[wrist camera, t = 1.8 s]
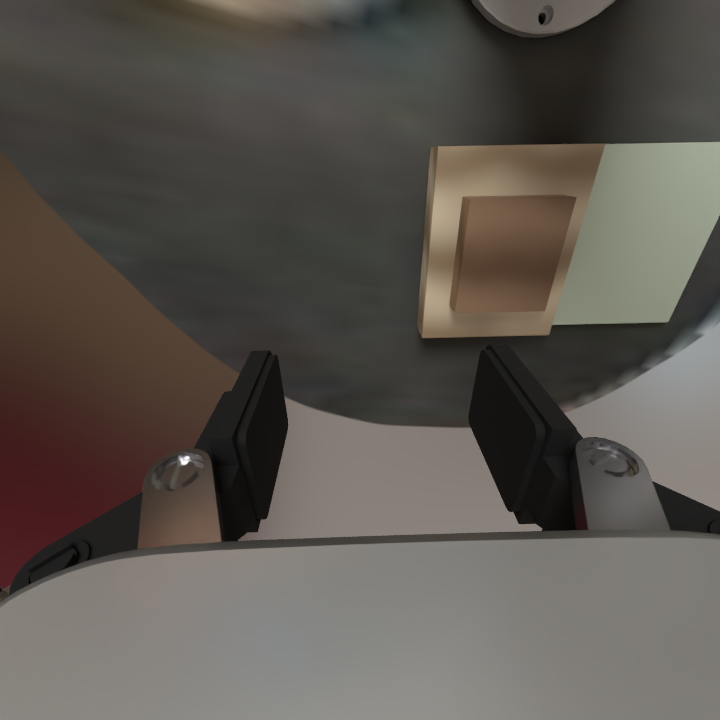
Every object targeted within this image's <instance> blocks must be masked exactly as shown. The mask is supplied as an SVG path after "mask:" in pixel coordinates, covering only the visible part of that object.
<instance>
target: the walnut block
mask: <svg viewBox="0 0 720 720" xmlns="http://www.w3.org/2000/svg"><path fill="white" fill-rule="evenodd" d="M576 198H577V197H573V196H567V195H517V196H465V197H462V205H461V213H460V221H459V229H458V237H457V245H456V253H455V262H454V270H453V278H452V286H451V294H450V302H449V305H450V307H451V308H452V310H453V311H454V313H492V312H535V311H545V310H546V306H547V303H548V299H549V296H550V292H551V288H552V285H553V281H554V278H555V274H556V270H557V267H558V263H559V260H560V256H561V252H562V249H563V245H564V241H565V238H566V234H567V231H568V227H569V223H570V220H571V216H572V213H573V209H574V205H575V202H576Z"/></svg>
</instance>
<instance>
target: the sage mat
mask: <svg viewBox="0 0 720 720" xmlns="http://www.w3.org/2000/svg"><path fill="white" fill-rule="evenodd" d="M719 216H720V142H694V143H637V144H605V147H604V150H603V154H602V157H601V161H600V164H599V167H598V171H597V174H596V177H595V181H594V184H593V188H592V191H591V194H590V198H589V201H588V205H587V208H586V211H585V215H584V218H583V222H582V225H581V228H580V232H579V235H578V239H577V242H576V245H575V249H574V252H573V255H572V259H571V262H570V266H569V269H568V272H567V276H566V279H565V283H564V286H563V289H562V293H561V296H560V300H559V303H558V306H557V310H556V313H555V316H554V320H553V323H552V325H569V324H611V323H653V322H668V321H669V319H670V317H671V315H672V313H673V311H674V309H675V307H676V305H677V303H678V301H679V299H680V297H681V294H682V292H683V290H684V288H685V286H686V284H687V282H688V280H689V278H690V276H691V274H692V272H693V270H694V267H695V265H696V263H697V261H698V259H699V257H700V255H701V253H702V251H703V249H704V247H705V245H706V243H707V240H708V238H709V236H710V234H711V232H712V230H713V228H714V226H715V224H716V222H717V220H718V218H719Z"/></svg>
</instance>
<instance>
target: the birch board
mask: <svg viewBox="0 0 720 720" xmlns="http://www.w3.org/2000/svg"><path fill="white" fill-rule="evenodd" d="M605 144H606V143H604V144H547V145H490V146H438V147H431V149H430V162H429V175H428V188H427V202H426V215H425V228H424V241H423V254H422V267H421V281H420V294H419V307H418V320H417V327H418V329H419V332H420V335H421V337H422V338H447V337H489V336H530V335H549V333H550V330H551V327H552V323H553V320H554V316H555V313H556V310H557V306H558V303H559V300H560V296H561V293H562V289H563V286H564V283H565V279H566V276H567V272H568V269H569V266H570V262H571V259H572V255H573V252H574V249H575V245H576V242H577V239H578V235H579V232H580V228H581V225H582V222H583V218H584V215H585V211H586V208H587V205H588V201H589V198H590V194H591V191H592V188H593V184H594V181H595V177H596V174H597V171H598V167H599V164H600V161H601V157H602V154H603V150H604V147H605ZM517 195H567V196H573V197H577V198H576V202H575V205H574V209H573V213H572V216H571V220H570V223H569V227H568V231H567V234H566V238H565V241H564V245H563V249H562V252H561V256H560V260H559V263H558V267H557V270H556V274H555V278H554V281H553V285H552V288H551V292H550V296H549V299H548V303H547V306H546V310H545V311H535V312H492V313H454V311H453V310H452V308H451V307H450V305H449V302H450V294H451V286H452V278H453V270H454V262H455V253H456V245H457V237H458V229H459V221H460V213H461V205H462V197H465V196H517Z"/></svg>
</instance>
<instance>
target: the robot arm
mask: <svg viewBox="0 0 720 720" xmlns="http://www.w3.org/2000/svg"><path fill="white" fill-rule="evenodd" d="M471 1H472V3H473V5H474V6H475V7H476V8H477V9H478V10H479V11H480V13H481V14H482V15H483V16H484V17H485V18H486V19H487V20H488V21H489V22H491V23H492V24H494V25H495V26H497V27H498V28H500V29H501V30H503V31H505V32H508V33H511V34H514V35H517V36H520V37H531V38H543V37H548V36H553V35H558V34H561V33H563V32H566V31H568V30H570V29H573V28H575V27H577V26H579V25H581V24H583V23H584V22H586V21H588V20H589V19H591V18H593V17H594V16H596V15H598V14H599V13H600V12H602V11H603V10H604V9H605V8H607V7H608V6H609V5H610V4H612V3H613V2H614V1H615V0H471ZM538 15H540V16H541V17H542V24H541V25H540V23H539V21H538ZM469 424H470V427H471V429H472V431H473V433H474V436H475V438H476V440H477V443H478V445H479V447H480V449H481V452H482V454H483V456H484V458H485V461H486V463H487V465H488V467H489V469H490V472H491V474H492V476H493V479H494V481H495V483H496V485H497V488H498V490H499V492H500V495H501V497H502V499H503V502H504V504H505V506H506V508H507V510H508V511H510V512H514V514H515V516H516V519H517V521H518V523H519V524H537V525H538V526H540V527H541V528H542V531H533V532H532V531H531V532H491V533H460V534H459V533H456V534H424V535H393V536H392V535H391V536H361V537H360V536H359V537H331V538H305V539H277V540H250V541H238V539H240V538H241V537H242V536H243V535H245V534H246V532H258V528H259V524H260V520H261V519H266V518H267V516H268V513H269V508H270V504H271V499H272V495H273V491H274V487H275V482H276V478H277V474H278V469H279V465H280V460H281V456H282V452H283V448H284V443H285V439H286V435H287V430H288V418H287V412H286V405H285V399H284V393H283V386H282V380H281V374H280V368H279V361H278V357H277V355H272V353H271V351H252V352H251V353H250V355H249V357H248V359H247V361H246V363H245V365H244V367H243V369H242V371H241V373H240V375H239V377H238V379H237V381H236V383H235V385H234V387H233V389H232V391H228V392H224V394H223V395H222V397H221V399H220V400H219V402H218V404H217V406H216V408H215V410H214V412H213V413H212V415H211V417H210V419H209V421H208V423H207V425H206V426H205V428H204V430H203V432H202V434H201V436H200V438H199V439H198V441H197V443H196V445H195V447H194V449H183V450H178V451H175V452H173V453H170V454H168V455H166V456H164V457H163V458H161V459H160V460H158V461H157V462H156V463H155V464H154V465H153V466H151V468H150V469H149V471H148V472H147V473H146V475H145V479H144V482H143V492H141V493H140V494H138V495H136V496H134V497H132V498H131V499H129V500H127V501H125V502H124V503H122V504H120V505H119V506H117V507H115V508H113V509H111V510H110V511H108V512H106V513H104V514H103V515H101V516H99V517H97V518H96V519H94V520H92V521H90V522H89V523H87V524H85V525H83V526H82V527H80V528H78V529H76V530H75V531H73V532H71V533H69V534H67V535H66V536H64V537H62V538H61V539H59V540H57V541H55V542H53V543H52V544H50V545H48V546H47V547H46V548H44V549H42V550H41V551H39V552H38V553H37V554H36V555H35V556H33V557H32V558H31V559H30V560H29V561H28V562H27V563H26V564H25V565H24V566H23V567H22V569H21V570H20V571H19V572H18V573H17V575H16V576H15V578H14V580H13V582H12V584H11V586H9V587H7V588H6V589H4V590H3V589H1V587H0V720H720V511H717V510H715V509H713V508H710V507H708V506H706V505H704V504H702V503H700V502H697V501H695V500H693V499H691V498H688V497H686V496H684V495H682V494H680V493H677V492H675V491H673V490H671V489H668V488H666V487H664V486H662V485H659V484H657V483H655V482H653V481H652V480H651V477H650V475H649V472H648V469H647V467H646V465H645V464H644V462H643V460H642V459H641V458H640V457H639V456H638V455H637V454H635V453H634V452H633V451H632V450H630V449H629V448H627V447H625V446H623V445H621V444H619V443H617V442H615V441H611V440H608V439H605V438H597V437H589V438H584V439H583V438H582V436H581V435H580V434H579V433H578V432H577V430H576V427H575V426H574V425H573V424H572V422H571V421H570V420H569V419H568V418H567V416H566V415H565V414H564V413H563V412H562V410H561V409H560V408H559V407H558V405H557V404H556V403H555V402H554V401H553V399H552V398H551V397H550V396H549V395H548V393H547V392H546V391H545V390H544V389H543V387H542V386H541V385H540V384H539V382H538V381H537V380H536V379H535V378H534V376H533V375H532V374H531V373H530V372H529V370H528V369H527V368H526V367H525V366H524V364H523V363H522V362H521V361H520V359H519V358H518V357H517V356H516V355H515V353H514V352H513V351H512V350H511V349H510V347H509V346H508V345H488V346H487V348H486V350H482V351H481V353H480V357H479V362H478V368H477V373H476V378H475V384H474V389H473V394H472V400H471V405H470V411H469Z"/></svg>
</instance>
